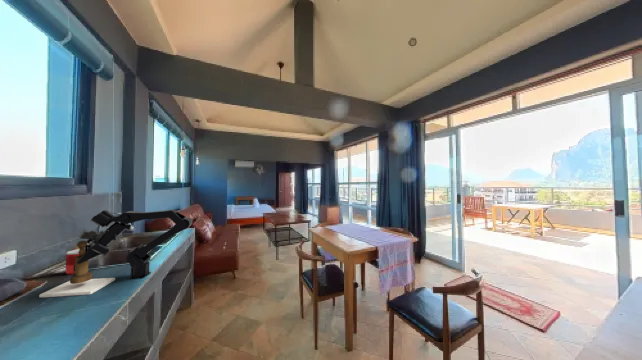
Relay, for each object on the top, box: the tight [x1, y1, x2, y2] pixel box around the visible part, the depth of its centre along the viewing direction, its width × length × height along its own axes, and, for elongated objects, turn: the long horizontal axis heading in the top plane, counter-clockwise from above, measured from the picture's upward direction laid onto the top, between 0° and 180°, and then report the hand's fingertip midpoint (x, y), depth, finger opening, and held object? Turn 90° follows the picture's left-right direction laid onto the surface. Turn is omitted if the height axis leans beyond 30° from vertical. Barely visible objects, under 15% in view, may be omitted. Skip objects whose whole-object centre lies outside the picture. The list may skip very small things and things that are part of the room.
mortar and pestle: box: [69, 240, 93, 284], centre depth 94 cm, size 7×6×18 cm
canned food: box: [65, 248, 80, 275], centre depth 110 cm, size 8×8×11 cm
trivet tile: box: [39, 277, 116, 298], centre depth 94 cm, size 18×13×1 cm
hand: (77, 262), depth 93 cm, fingers closed on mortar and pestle, 4 cm apart
